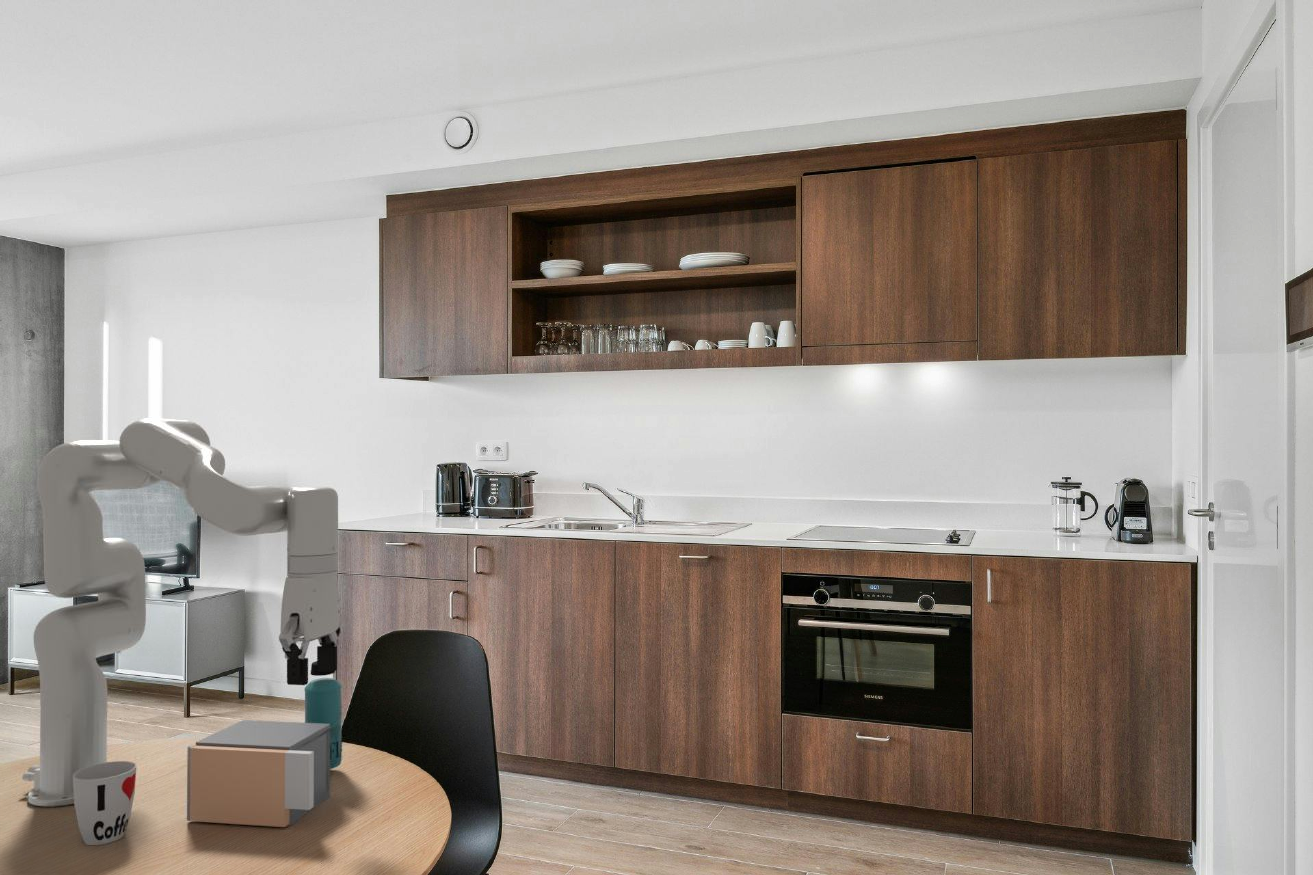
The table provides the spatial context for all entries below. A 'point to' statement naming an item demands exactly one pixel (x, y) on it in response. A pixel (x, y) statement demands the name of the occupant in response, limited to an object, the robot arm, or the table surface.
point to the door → (248, 784)
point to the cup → (104, 800)
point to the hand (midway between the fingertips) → (312, 676)
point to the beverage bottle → (325, 709)
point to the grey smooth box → (283, 747)
